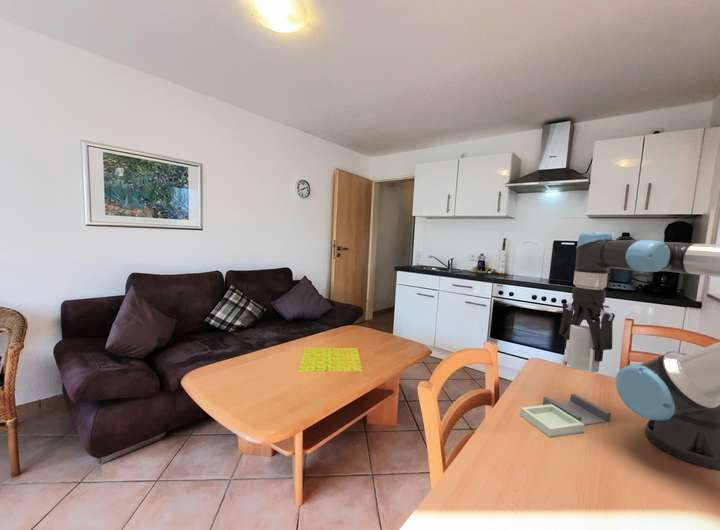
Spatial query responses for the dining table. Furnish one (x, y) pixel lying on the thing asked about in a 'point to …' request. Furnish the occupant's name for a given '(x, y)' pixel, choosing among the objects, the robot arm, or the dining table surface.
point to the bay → (581, 410)
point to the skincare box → (579, 347)
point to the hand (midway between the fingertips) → (580, 366)
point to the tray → (552, 420)
